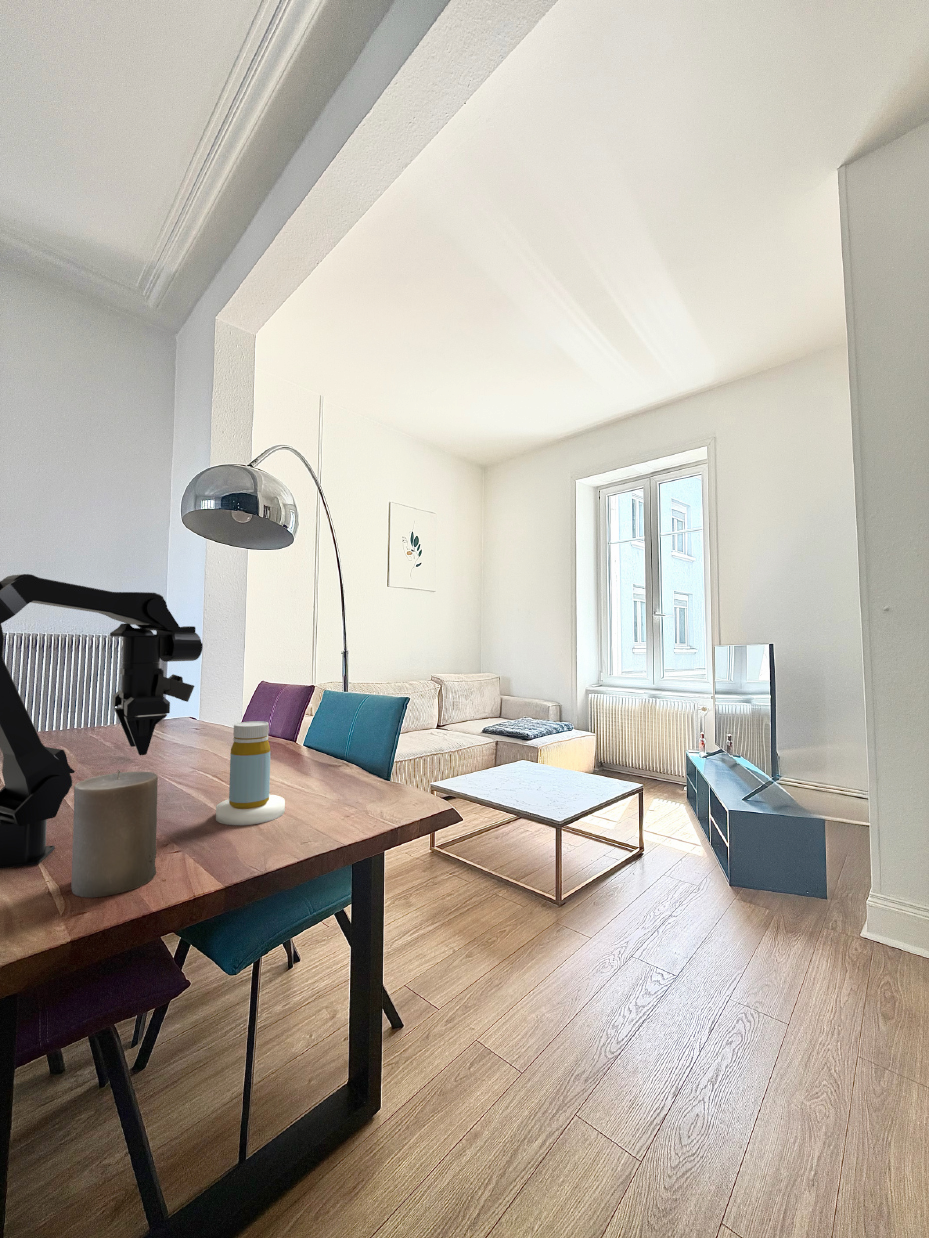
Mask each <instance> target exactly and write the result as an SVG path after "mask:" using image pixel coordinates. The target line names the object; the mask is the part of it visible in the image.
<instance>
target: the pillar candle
mask: <svg viewBox="0 0 929 1238" xmlns="http://www.w3.org/2000/svg"><path fill="white" fill-rule="evenodd" d="M158 778H159V777H158V774H157V773H155V772H152V771H123V772H121V769H118V770H117V772H114V773H109V774H103V775H102V774H101V775H98V776H93V777H89V778H87V779H84V780H80V781H78V782H77V783H75V784H74V785H73V790H74V792H73V793H74V794H73V825H72V826H73V827H72V828H73V829H72V832H73V833H72V851H71V853H72V855H71V856H72V857H71V860H72V861H71V884H70V885H71V886H70V887H71V892H72V894H73V895H75V896H77V897H82V898H87V899H88V898H100V897H107V896H113V895H115V894H119V893H124V892H127V891H132V890H134V889H138V888H139V887H142V886H143V885H146V884H147V883H149V882H150V881H152V880H153V879H154V878H155V877H156V875H157V867H156V858H157V828H158V827H157V825H158V824H157V823H158Z"/></svg>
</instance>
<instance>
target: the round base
mask: <svg viewBox="0 0 929 1238" xmlns="http://www.w3.org/2000/svg"><path fill="white" fill-rule="evenodd" d="M285 801H286V800H285V798H284V797H283V796H280V795H275V794H269V800H268V801H267V803H266V804H265V805H263V806H260V807H257V808H251V809H237V808H233V807H232V806H231V805H230V804H229V798H228V799H225V800H223V801H221V802H219V803H218V804H217V805H216V807H215V820H216V822H218V823H219V824H222V825H227V826H250V825H256V824H257V825H259V824H263V823H266V822H267V823H268V822H271V821H275V820H276V819H279V818H280V817H281V816H283V815H284V814H285V810H286V809H285V803H286V802H285Z"/></svg>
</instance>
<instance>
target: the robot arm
mask: <svg viewBox="0 0 929 1238" xmlns="http://www.w3.org/2000/svg"><path fill="white" fill-rule="evenodd" d="M30 603H31V604H39V605H44V606H50V607H51V606H52V607H57V608H64V609H71V610H76V611H84V612H91V613H97V614H101V615H103V616H106V617H107V618H110V619H112V620H114V621H118V622H120V624H119V625H118V626H117V628H115V629H113V630H112V631H111V632H110V633H109V636H110V637H113V638H116V637H117V638H123V640H122V662H121V664H122V665H121V667H120V668H119V674H120V675H121V687H120V688H121V689H120V690H118V691H117V692H115V693H114V694H113V695H112V706H113V707H114V708H113V710H114V712H115V715H116V717H117V719H118V721H119V723H120V726H121V727H122V729H123V733H124V735H125V737H126V740H127V742H128V744H129V746H130V747H133V748H134V747H135V749H136V751H137V753H138V756H145V755H147V754H148V751H149V747H150V744H151V741H152V738H153V734H154V732H155V728H156V726H157V724H159V722H161V721H162V720H163V719H166V717H168V714H170V710H171V702H170V700H168V699H167V698H166V697H165V696H164V695H166V696H170V697H172V698H176V699H178V700H181V701H182V702H186V703H187V702H189V701H190V699H191V698H190V697H191V696H192V694H193V691H194V689H195V685H194V684H190V683H186V682H184V681H183V680H184V679H183V676H181V675H177V674H174V673H173V674H171V675H170V676H169V677H167V676H166V677H165V676H164V673H165V671H164V669H162V667H161V666H160V660H161V661H162V662H167V663H168V662H194V661H197V660H198V659H199V658H200V656H201V655H202V652H203V642H202V640H201V637H200V636H199V634H198V633H197V632H196V626H192V625H191V626H180V625H179V623H178V622H177V621H176V619H175V617H174V615H173V614H172V612H171V611H170V609H169V608H168V604H167V602H166V600H165V598H164V596H163V595H161V594H160V593H157V592H148V591H147V592H144V591H143V592H141V591H140V592H139V591H138V592H137V591H136V592H135V591H131V592H130V591H110V590H105V589H101V588H100V589H99V588H94V587H88V586H84V585H78V584H74V583H68V582H64V581H59V580H53V579H47V578H44V577H43V578H42V577H38V576H36V575H34V574H31V573H30V574H29V573H22V574H12V575H11V574H10V575H8V576H6V577H5V578H3V579H2V580H0V751H1V752H2V757H3V759H2V768H1V770H2V773H1V774H2V777H3V778H2V779H3V783H4V786H2V788H1V789H0V869H1V870H2V869H8V868H9V869H10V868H17V867H18V868H19V867H27V866H35V865H39V864H40V863H41V862H42V861H43V860H44V859H45V858H46V857H48V856H49V855H50V854H51V853H52V852H53V851H54V850H55V849H56V845H47V829H48V827H47V826H48V820H49V819H53V818H56V817H57V814H58V812H59V810H60V807H61V805H62V802H63V800H64V799H65V797H66V796H67V795H68V794H69V793H70V789H71V788H72V787H73V779H72V775H71V774H74V773H75V772H76V771H75V770H74V769H73V768H72V767H71V766H70V764H69V762H68V757H67V754H66V752H65V750H64V749H60V748H56V747H49V746H45V744H43V742H42V741H41V739H40V737H39V734H38V732H37V730H36V728H35V726H34V725H35V724H34V723H33V722H32V719H31V717H30V715H29V712H28V710H27V708H26V706H25V704H24V702H23V700H22V698H21V695H20V693H19V691H18V689H17V686H16V684H15V682H14V680H13V678H12V675H11V673H10V671H9V669H8V667H7V665H6V662H5V660H4V644H5V635H4V631H3V627H2V624H3V623H4V622H5V623H6V621H8V620H10V619H12V618H13V617H14V616H16V615H17V614H19V612H20V611H22V610H23V609H24V608H25V607H27V605H28V604H30ZM133 625H134V626H136V627H134V626H133ZM154 631H155V632H156V633H155V634H154V633H153V632H154Z"/></svg>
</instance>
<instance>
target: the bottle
mask: <svg viewBox="0 0 929 1238" xmlns="http://www.w3.org/2000/svg"><path fill="white" fill-rule="evenodd" d="M269 725H270V723H269V722H267V721H258V720H257V721H255V720H254V721H252V720H251V721H243V722H237V723H233V739H232V740H233V743H232V745H231V748H230V755H229V756H230V757H229V761H230V762H229V785H228V786H229V788H228V789H229V792H228V793H229V794H228V795H229V796H228V799H229V804H230V805H231V806H232V807H233V808H237V809H251V808H257V807H260V806H263V805H265V804H266V803H267V801H268V800H269V795H270V790H271V789H270V788H271V787H270V785H271V783H270V781H271V752H272V751H271V745H270V742H269V731H270V730H269V729H270V726H269Z"/></svg>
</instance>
